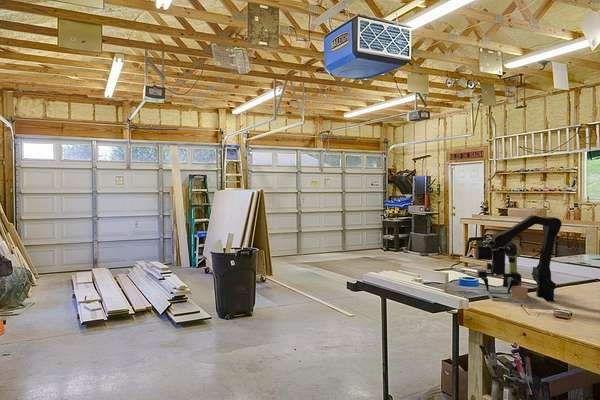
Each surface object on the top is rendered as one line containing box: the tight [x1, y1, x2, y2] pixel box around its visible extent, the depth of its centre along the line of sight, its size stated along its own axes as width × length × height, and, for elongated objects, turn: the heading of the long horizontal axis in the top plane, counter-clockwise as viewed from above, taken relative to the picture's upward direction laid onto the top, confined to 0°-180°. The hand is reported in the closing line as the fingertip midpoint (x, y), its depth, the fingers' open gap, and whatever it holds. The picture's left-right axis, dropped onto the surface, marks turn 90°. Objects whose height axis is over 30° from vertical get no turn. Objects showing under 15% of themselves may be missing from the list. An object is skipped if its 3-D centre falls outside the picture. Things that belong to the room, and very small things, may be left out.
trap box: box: [485, 290, 536, 305], centre depth 205 cm, size 18×16×2 cm
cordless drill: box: [502, 241, 523, 288], centre depth 226 cm, size 23×7×25 cm, turn 143°
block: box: [510, 285, 529, 299], centre depth 207 cm, size 6×5×4 cm
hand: (497, 292), depth 210 cm, fingers open, 9 cm apart
